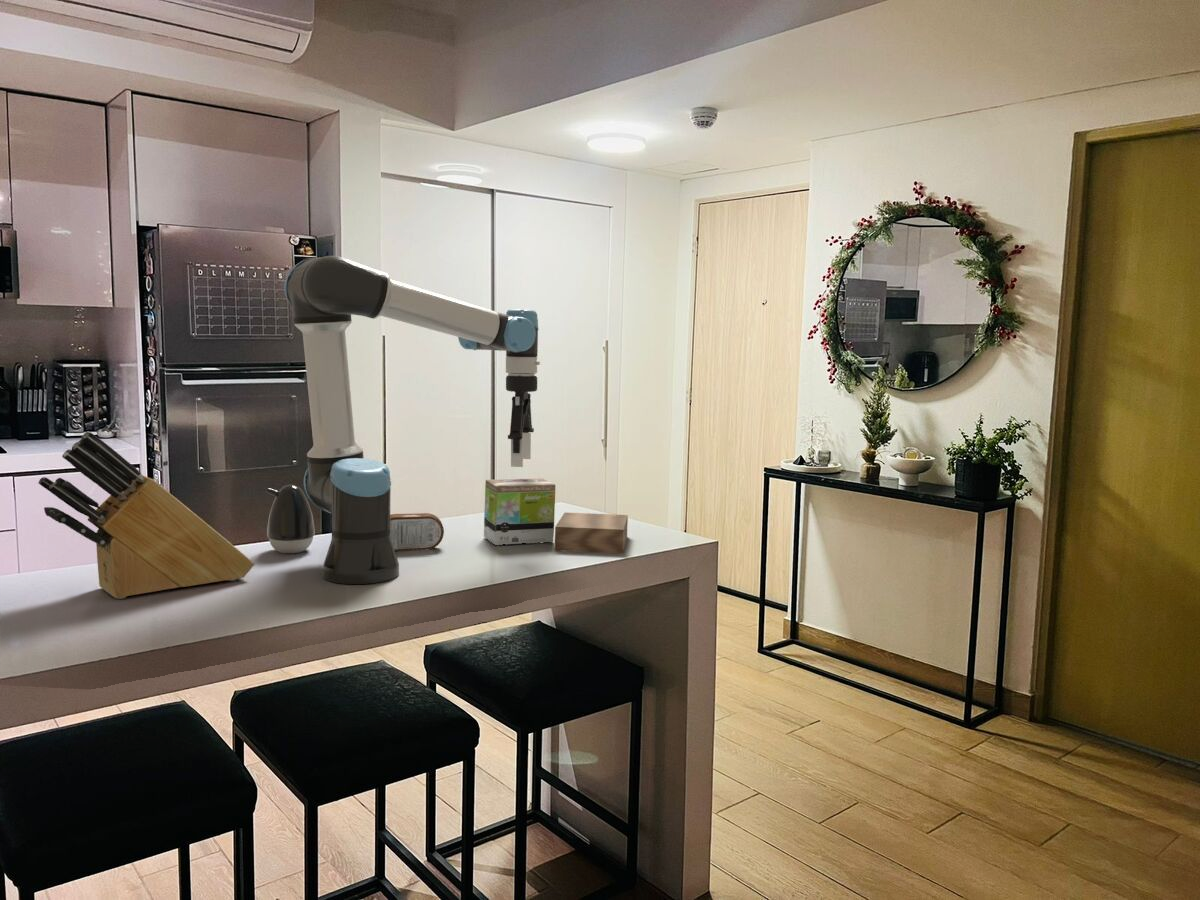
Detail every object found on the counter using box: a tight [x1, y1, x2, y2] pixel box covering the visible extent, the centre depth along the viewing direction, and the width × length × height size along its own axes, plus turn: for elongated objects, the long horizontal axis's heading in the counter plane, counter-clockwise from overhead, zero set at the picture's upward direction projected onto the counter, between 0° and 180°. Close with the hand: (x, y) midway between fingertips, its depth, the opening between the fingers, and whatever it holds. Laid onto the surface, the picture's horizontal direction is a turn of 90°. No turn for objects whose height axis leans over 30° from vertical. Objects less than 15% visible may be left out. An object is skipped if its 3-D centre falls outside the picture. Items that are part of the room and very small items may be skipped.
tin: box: [390, 512, 445, 552], centre depth 214 cm, size 15×3×8 cm, turn 108°
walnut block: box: [554, 512, 629, 554], centre depth 226 cm, size 16×18×6 cm
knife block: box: [37, 431, 255, 600], centre depth 176 cm, size 11×35×31 cm, turn 132°
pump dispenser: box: [265, 484, 316, 554], centre depth 209 cm, size 10×10×15 cm
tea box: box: [483, 478, 556, 546], centre depth 226 cm, size 15×10×15 cm, turn 114°
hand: (521, 462), depth 225 cm, fingers open, 13 cm apart
